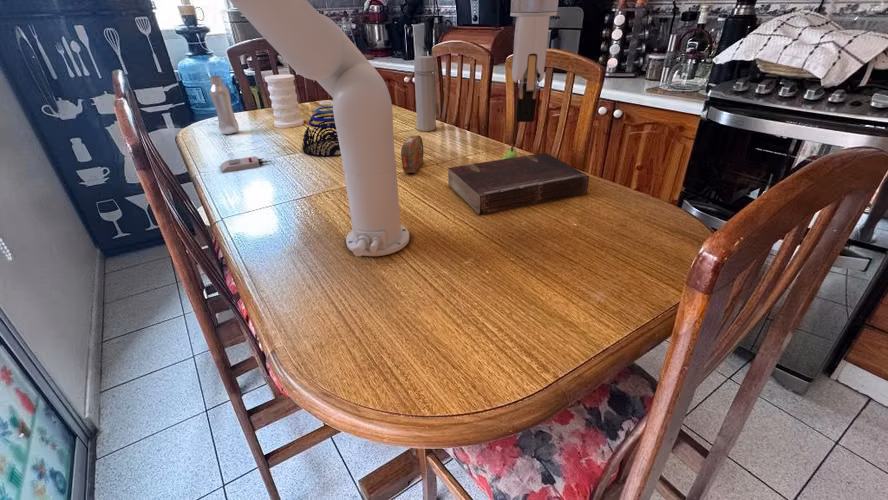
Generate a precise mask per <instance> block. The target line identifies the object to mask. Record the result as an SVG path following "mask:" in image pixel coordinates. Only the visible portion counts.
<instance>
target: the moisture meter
mask: <svg viewBox="0 0 888 500" xmlns="http://www.w3.org/2000/svg"><path fill="white" fill-rule="evenodd" d="M271 162H272V160H265V158H264V157H263V158H258V157H257V156H247V157H242V158H241V157H240V158H235V159H229V160H225V161H223V162H221V171H222V173H231V172H236V171H242V170H249V169H255V168H259V167H260V166H261V165H263V164H266V163H271Z"/></svg>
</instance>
